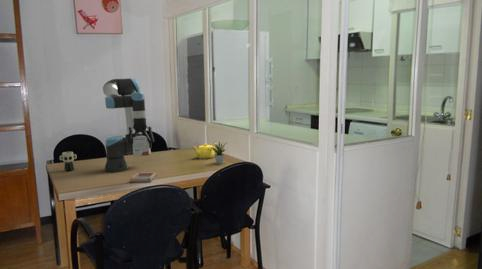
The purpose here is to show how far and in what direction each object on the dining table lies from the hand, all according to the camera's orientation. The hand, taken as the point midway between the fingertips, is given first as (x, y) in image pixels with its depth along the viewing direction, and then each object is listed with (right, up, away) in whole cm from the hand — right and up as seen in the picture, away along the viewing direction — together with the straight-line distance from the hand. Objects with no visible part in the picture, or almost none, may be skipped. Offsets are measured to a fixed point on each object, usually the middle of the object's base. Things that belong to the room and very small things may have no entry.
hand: (142, 153), depth 238 cm
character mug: (-60, -14, +33) cm, 70 cm away
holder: (+1, -16, +3) cm, 16 cm away
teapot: (+35, -6, +62) cm, 71 cm away
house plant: (+47, -9, +43) cm, 64 cm away
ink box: (0, -1, 0) cm, 1 cm away
